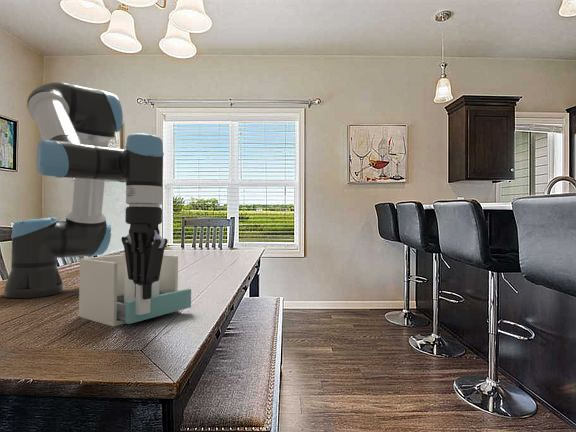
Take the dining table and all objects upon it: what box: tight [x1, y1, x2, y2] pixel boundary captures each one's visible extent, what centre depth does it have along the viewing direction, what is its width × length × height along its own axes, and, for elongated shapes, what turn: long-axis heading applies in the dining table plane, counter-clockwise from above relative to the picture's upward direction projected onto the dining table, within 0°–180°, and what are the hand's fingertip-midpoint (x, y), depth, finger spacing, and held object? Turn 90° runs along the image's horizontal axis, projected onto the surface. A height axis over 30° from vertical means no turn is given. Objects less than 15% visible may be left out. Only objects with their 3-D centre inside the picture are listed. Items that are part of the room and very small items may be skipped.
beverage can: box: [124, 262, 160, 304], centre depth 92 cm, size 8×8×12 cm
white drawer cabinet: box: [78, 254, 179, 327], centre depth 93 cm, size 14×18×14 cm
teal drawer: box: [117, 288, 192, 325], centre depth 90 cm, size 14×18×5 cm
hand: (142, 313), depth 81 cm, fingers closed
